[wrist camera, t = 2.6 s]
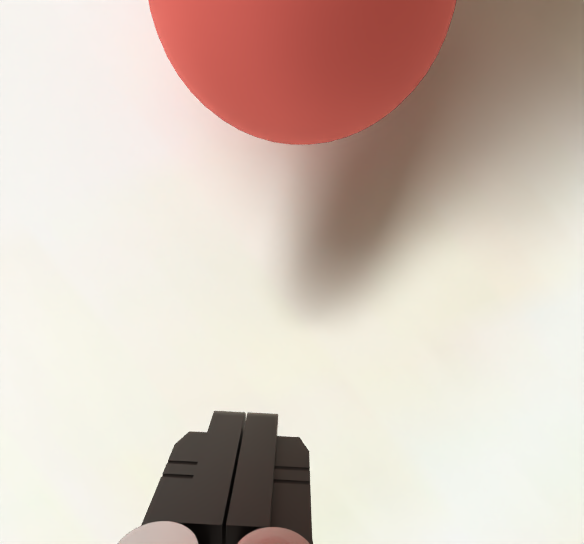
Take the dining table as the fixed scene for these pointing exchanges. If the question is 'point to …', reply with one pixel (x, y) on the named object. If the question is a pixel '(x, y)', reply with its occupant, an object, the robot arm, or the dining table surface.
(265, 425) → the robot arm
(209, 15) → the ball
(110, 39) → the dining table surface
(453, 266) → the dining table surface
